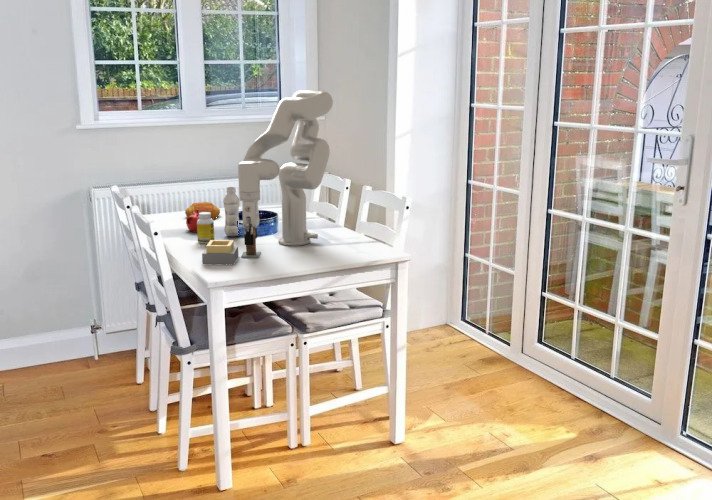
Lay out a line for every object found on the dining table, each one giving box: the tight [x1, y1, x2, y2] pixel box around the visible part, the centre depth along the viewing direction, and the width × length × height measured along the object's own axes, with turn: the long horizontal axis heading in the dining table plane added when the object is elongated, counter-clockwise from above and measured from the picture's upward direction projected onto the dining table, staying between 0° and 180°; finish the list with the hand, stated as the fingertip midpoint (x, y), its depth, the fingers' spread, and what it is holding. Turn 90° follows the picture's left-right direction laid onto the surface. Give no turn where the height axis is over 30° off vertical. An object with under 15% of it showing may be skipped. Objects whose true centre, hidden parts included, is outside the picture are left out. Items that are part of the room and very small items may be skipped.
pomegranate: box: [185, 209, 200, 233], centre depth 299 cm, size 10×10×9 cm
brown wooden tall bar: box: [245, 220, 257, 255], centre depth 259 cm, size 4×4×15 cm
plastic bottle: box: [222, 186, 240, 237], centre depth 288 cm, size 6×7×20 cm
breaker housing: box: [201, 239, 239, 266], centre depth 253 cm, size 11×11×6 cm
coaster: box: [240, 251, 262, 259], centre depth 261 cm, size 6×6×1 cm
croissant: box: [184, 201, 221, 219], centre depth 324 cm, size 14×16×8 cm
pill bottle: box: [196, 212, 215, 244], centre depth 279 cm, size 6×6×12 cm
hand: (250, 241), depth 260 cm, fingers open, 9 cm apart
